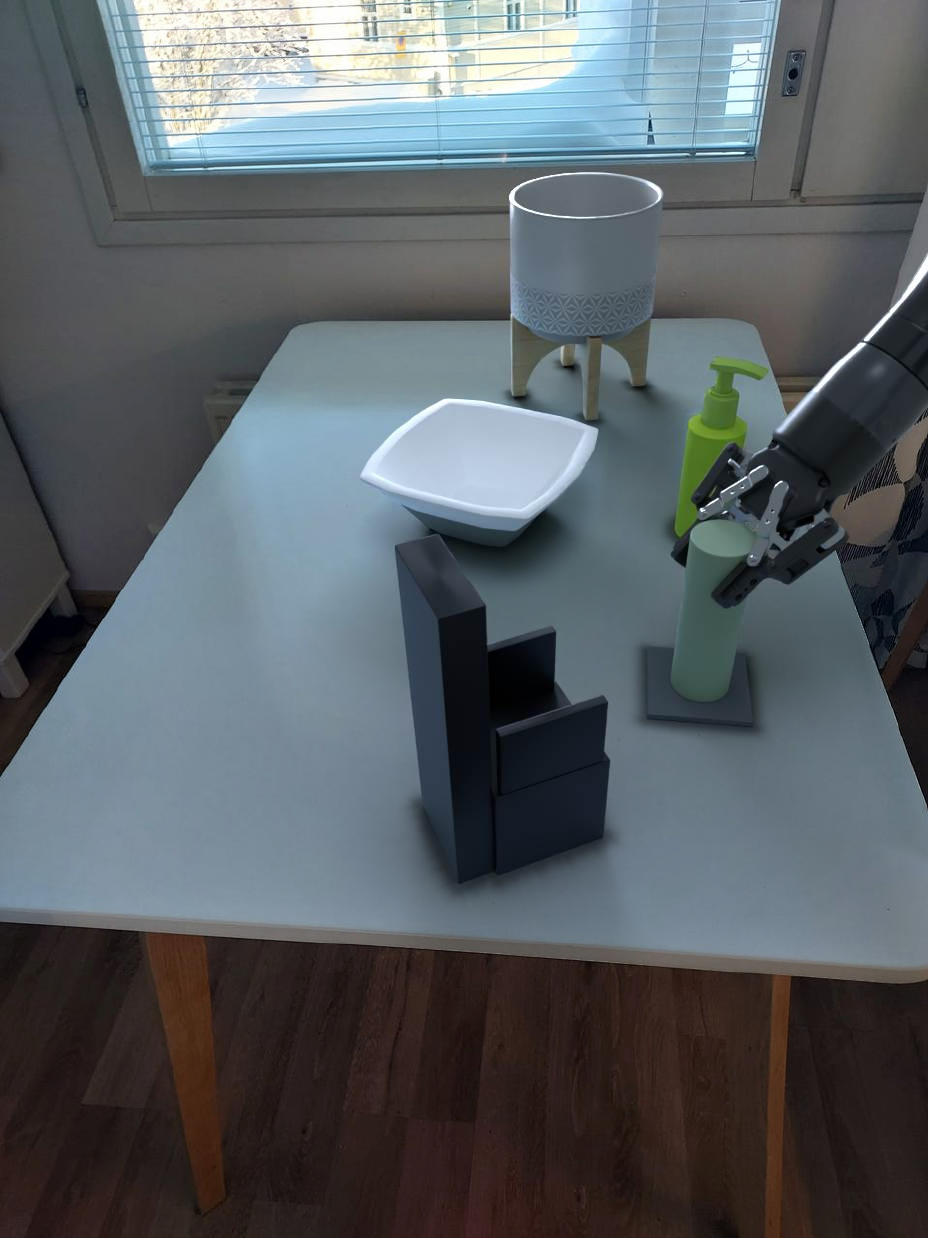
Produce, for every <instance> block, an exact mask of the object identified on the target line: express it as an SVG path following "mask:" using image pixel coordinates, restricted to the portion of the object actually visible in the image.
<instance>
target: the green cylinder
mask: <svg viewBox="0 0 928 1238" xmlns="http://www.w3.org/2000/svg"><path fill="white" fill-rule="evenodd" d="M755 533H756V532H754V531H753V529H751V528H750V527H749V526H746V525H744V524H742V523H740V522H738V521H737V522H734V521H729V520H709V521H705V522H702V523H700V524H698V525H697V526H696V527H694V529H693V530H692V532H691V535H690V542H689V549H688V556H687V563H686V568H685V570H684V577H683V585H682V593H681V598H680V599H681V600H680V607H679V615H678V620H677V621H678V622H677V627H676V628H677V629H676V636H675V641H674V648H675V649H674V656H673V663H672V670H671V678H670V680H671V685H672V687H673V688H674V690H675V691H676V692H677V693H678V694H679V695H681V696H682V697H684V698H686V699H689V700H692V701H696V702H712V701H716V700H718V699H720V698H722V697H723V696H724V695H725V694H726V693H727V691H728V689H729V684H730V679H731V674H732V669H733V664H734V659H735V654H736V652H737V649H738V643H739V638H740V633H741V628H742V623H743V618H744V614H745V608H746V603H747V599H748V596H747V597H746V598H745V599H744V600H743V601H742V602H741V603H740V604H738V605H737V606H735V607H734V606H731V607H730V608H728V609H725V608H723V607H722V606H721V605H719V604H718V603H716V602H715V601H714V600H713V599H712V598H711V593H712V592H713V590H714V589H715V588H716V587H717V586H718V585H719V584H720V583H721V582H722V581H723V580H724V579H725V578H726V577H727V576H728V575H729V574H730V573H731V572H732V571H733V569H734V568H735V567H736V566H737V565H738V564H739V563H740V562H741V561H743V562H744V563H745V564H746V563H747V562H746V560H747V557H748V555H749V553H750V550H751V548H752V546H753V544H754V542H755V540H756V534H755Z"/></svg>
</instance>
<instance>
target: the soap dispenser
mask: <svg viewBox="0 0 928 1238" xmlns="http://www.w3.org/2000/svg"><path fill="white" fill-rule="evenodd" d="M708 370H712V371H716V372H715V379H714V385H713V386H711V387H708V388H707V389H705V391H704V397H703V405H702V409H701V410H702V411H701V412H700V413H697V414H695V415H693V416H691V417H690V419H689V420H688V422H687V429H686V437H685V445H684V453H683V460H682V469H681V476H680V484H679V491H678V499H677V507H676V508H677V509H676V515H675V521H674V532H675V534H676V536H678V537H679V539H680V538H681V536H682V535H683V534H684V533H685V532H686V531H687V530H688V529H689V528H690V527H691V525H692V524H693V523H694V522H695V521H696V520H697V518H698V517H697V514H698V511H697V508H696V506H695V504H693V503H692V502H691V496H692V494H693V493H694V491H695V490H696V489H697V487H698V486H699V484H700V483H701V481H702V480H703V478H704V477H705V475H706V474H707V472H708V471H709V470H710V468H711V467H712V465H713V464H714V462H715V461H716V459H717V458H718V456H719V455H720V453H721V452H722V451H723V449H724V448H725V446H726V445H727V444H728V443H730V442H735V443H736V444H737V445H738V446H740V447H741V448H742V449H743V450H744V447H745V442H746V438H747V437H746V436H747V431H748V425H747V423H746V421H745V420H744V419H742V417H739V416H737V413H738V407H739V402H740V392H739V391H738V390H737V389H735V388H734V387H733V383H734V378H735V377H734V376H735V374H738V375H742V376H746V377H749V378H751V379H754V380H756V381H761V380H763V379H765V377H766V376H767V374H768V373H769V372H770V369H768V368H767V367H764V366H762V365H760V364H757V363H755V362H752V361H749V360H746V359H741V358H733V357H727V356H715V358H714V359H713V360H712V361H711V362H710V363H709V367H708ZM715 488H716V486H715ZM715 488H714V489H713V491H714V490H715ZM713 491H712V492H711V494H712V493H713ZM711 494H710V495H709V496H708V497H710V496H711Z"/></svg>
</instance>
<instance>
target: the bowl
mask: <svg viewBox="0 0 928 1238" xmlns="http://www.w3.org/2000/svg"><path fill="white" fill-rule="evenodd" d="M599 431H600V430H599V429H598V428H596V427H594V426H592V425H588V424H585V423H583V422H580V421H578V420H575V419H571V418H568V417H565V416H561V415H555V414H550V413H545V412H542V411H541V412H540V411H536V410H530V409H525V408H521V407H516V406H511V405H506V404H501V403H494V402H490V401H484V400H476V399H461V398H443V399H441V400H439V401H438V402H435V404H433V405H431V406H429V407H427V408H424V409H423V410H422V411H419V413H417V414H416V415H414V416H413V417H412V418H410V419H409V420H408V421H406V422H405V423H404V424H402V425H401V426H399V427H398V428H397V429H396V430H394V431H393V432H392V433H390V435H389V436H388V438H387V439H386V440H385V441H384V442H383V443H382V444H381V445H380V446H379V447H378V448H377V449H376V450H375V452H373V454H372V455H371V456H370V457H369V459H368V460H367V462H366V464H365V466H364V468H363V469H362V471H361V473H360V475H359V480H360V481H362V482H363V483H365V484H366V485H368V486H369V487H372V488H373V489H375V490H376V491H377V492H379V493H381V494H382V495H384V496H386V497H387V498H389V499H391V500H392V501H394V502H396V503H398V504H399V505H401V506H402V507H403V508H404V509H406V510H407V511H408V512H409V513H410V514H412V515H413V516H414V517H415V518H416V519H418V520H419V521H420V522H421V523H423V524H424V525H425V526H426V527H428V528H429V529H430V530H433V531H435V532H437V533H438V534H441V535H444V536H448V537H452V538H455V539H459V540H463V541H465V542H470V543H475V544H478V545H482V546H487V547H488V546H490V547H499V548H504V547H506V546H508V545H510V544H511V543H512V542H514V541H515V540H516V539H518V538H519V537H520V536H521V535H522V534H523V533H524V532H525V530H526V529H528V527H529V526H531V524H532V523H533V522H534V521H535V520H536V518H537V517H538V516H539V515H540V514H541V513H542V512H543V511H546V509H547V508H548V507H550V506H551V505H552V504H554V503H555V502H556V501H557V500H558V499H559V498H560V497H561V495H563V494H564V493H565V491H567V489H568V488H570V487H571V485H572V484H573V483H574V482H575V481H576V480H578V478H579V477H580V476H581V474H582V473H583V471H584V469H585V467H586V465H587V464H588V462H589V460H590V458H591V457H592V455H593V453H594V451H595V448H596V445H597V444H596V443H597V439H598V435H599Z"/></svg>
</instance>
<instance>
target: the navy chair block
mask: <svg viewBox="0 0 928 1238" xmlns="http://www.w3.org/2000/svg"><path fill="white" fill-rule="evenodd" d="M394 555H395V564H396V574H397V583H398V592H399V600H400V610H401V619H402V628H403V629H402V630H403V637H404V645H405V656H406V664H407V675H408V683H409V692H410V693H409V694H410V703H411V711H412V722H413V730H414V738H415V746H416V748H415V749H416V758H417V768H418V775H419V784H420V785H419V786H420V793H421V802H422V807H423V810H424V812H425V814H426V816H427V818H428V821H429V823H430V825H431V826H432V829H433V832H434V834H435V836H436V838H437V841H438V843H439V844H440V847H441V849H442V852H443V854H444V856H445V858H446V860H447V862H448V865H449V867H450V869H451V871H452V874H453V876H454V878H455V880H456V882H457V884H461V883H464V882H466V881H470V880H472V879H475V878H477V877H481V876H483V875H486V874H489V873H491V872H494V871H495V873H496V875H497V876H499V875H502V874H505V873H508V872H511V871H514V870H517V869H519V868H523V867H524V866H527V865H530V864H532V863H536V862H537V861H540V860H544V859H546V858H549V857H551V856H554V855H557V854H560V853H563V852H565V851H568V850H571V849H573V848H576V847H579V846H581V845H584V844H587V843H590V842H592V841H595V840H599V839H601V838H603V837H604V835H605V823H606V822H605V821H606V813H607V802H608V801H607V799H608V791H609V790H608V789H609V778H610V769H611V759H610V757H609V756H608V755H607V753H606V752H605V747H606V733H607V721H608V711H609V710H608V709H609V701H608V699H607V698H606V696H605V695H603V694H601V695H598V696H594V697H592V698H589V699H585V700H583V701H580V702H577V703H573V704H572V702H571V701H570V700H569V698H568V696H567V695H566V694H565V692H564V691H563V689H562V688H561V686H560V685H559V684H558V682H557V681H556V658H557V657H556V655H557V630H556V629H555V627H554V626H553V625H549V626H545V627H542V628H539V629H535V630H531V631H529V632H525V633H522V634H518V635H515V636H511V637H508V638H504V639H501V640H498V641H495V642H491V643H488V625H487V624H488V623H487V622H488V621H487V604H486V603H485V602H484V600H483V599H482V597H481V596H480V594H479V593H478V591H477V590H476V588H475V586H474V585H473V584H472V583H471V581H470V579H469V578H468V576H467V575H466V573H465V572H464V570H463V568H462V567H461V565H460V564H459V562H458V561H457V560H456V558H455V556H454V555H453V554H452V552H451V551H450V549H449V547H448V546H447V545H446V543H445V542H444V540H443V538H442V537H441V535H440V533H436V534H431V535H428V536H424V537H420V538H417V539H413V540H409V541H408V540H407V541H405V542H401V543H397V544H394Z"/></svg>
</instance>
